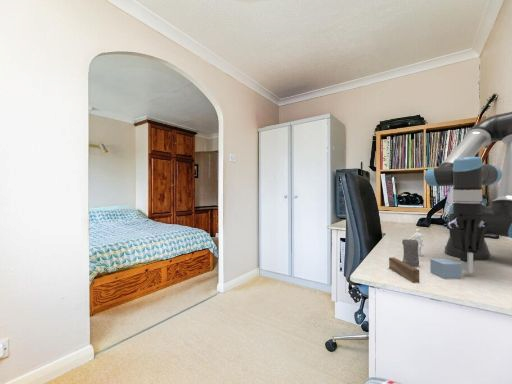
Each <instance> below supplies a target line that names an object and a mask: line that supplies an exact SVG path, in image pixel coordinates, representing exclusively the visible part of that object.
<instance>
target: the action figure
mask: <svg viewBox="0 0 512 384" xmlns="http://www.w3.org/2000/svg"><path fill="white" fill-rule="evenodd" d="M420 232H421V229H420V228H416V230H415V233H413V234H412V236H410V237H409V238H407V239H406V240H408V239H410V240H417V241H418V257H424V255H423V253H422V247H424V244H423V243H422V242H423V241H424V239H423V234H422V233H420ZM413 238H414V239H413Z"/></svg>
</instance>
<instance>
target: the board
mask: <svg viewBox="0 0 512 384" xmlns="http://www.w3.org/2000/svg"><path fill="white" fill-rule="evenodd" d="M388 265H389V266H388V268H389V269H390V270H392V271H394V272H395V273H397V274H398V275H400V276H401V277H403V278H405V279H406V280H408V281H410V282H412V283H420V269H418V268H417V267H414V266H410V265H408V264H406V263H404V262H403V260H400V259H398V258H396V257H388Z"/></svg>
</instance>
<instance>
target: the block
mask: <svg viewBox="0 0 512 384" xmlns="http://www.w3.org/2000/svg"><path fill="white" fill-rule="evenodd" d="M429 261H430V262H429V263H430V265H429V266H430V273H431V274H433V275H435V276H438V277H439V278H441V279H443V280H455V279H457V280H458V279H459V280H460V279H461V278H462V279H463V273H462V272H463V270H462V263H460V262H458V261H454V260H452V259H449V258H430V259H429Z"/></svg>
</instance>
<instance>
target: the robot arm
mask: <svg viewBox="0 0 512 384" xmlns="http://www.w3.org/2000/svg"><path fill="white" fill-rule="evenodd" d="M495 142H502V143H503V144H504V145H506V146H505V151H504V157H503V163H502V167H501V168H502V170H501V169H500V168H499V167H498V166H496V165H492V164H488V163H487V164H486V163H485V164H484V163H483V158H482V157H480V156H476V155H477V154H478V153H479V151H480V150H481V149H482V148H485V147H487V146H489V145H490V143H495ZM423 179H424V181H425V184H426V185H428V186H430V187H450V186H451V187H452V186H453V187H452V191H453V192H452V201H454V202H453V204H452V205H451V206H450V207H449V212H448V213H449V214H448V215H449V221H448V222H446V224H445V225H446V227H447V228H448V229H449V237H448V240H447V241H446V245H445V246H444V253H445V254H446V255H449V256H452V257H456V258H459V259H460V261H461V264H462V271H464V272H467V273H474V262H475V260H477V261H479V260H480V261H485V260H490V259H491V252H490V250H489V247H488V244H487V242H486V240H485V239H486V238H485V237H486V235H489V236H498V237H506V238H511V239H512V111H509V112H508V111H507V112H504V113H500V114H494V115H491V116H489V117H487V118H484V119H482V120H481V121H479V122H477V123H476V124H475V125H473V126H472V127H471V128H470V129H469V130H467V132H465V134H464V136H463V140H462V141H461V142H459V143H458V145H457V146H456V147H455V148H454V149H453V150H452V151H451V153H449V154H448V156H447V157H446V158H445V159H444V160H443V161H442V162H441V163H440V164H439V165H438V166H437V167H432V168H428V169H427V170H425V172H424V178H423ZM498 182H499V188H498V194H497V198H495V199H493V200H491V203H490V206H486V204H485V203H484V202H483V186H487V187H488V186H491V185H495V184H497V183H498Z"/></svg>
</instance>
